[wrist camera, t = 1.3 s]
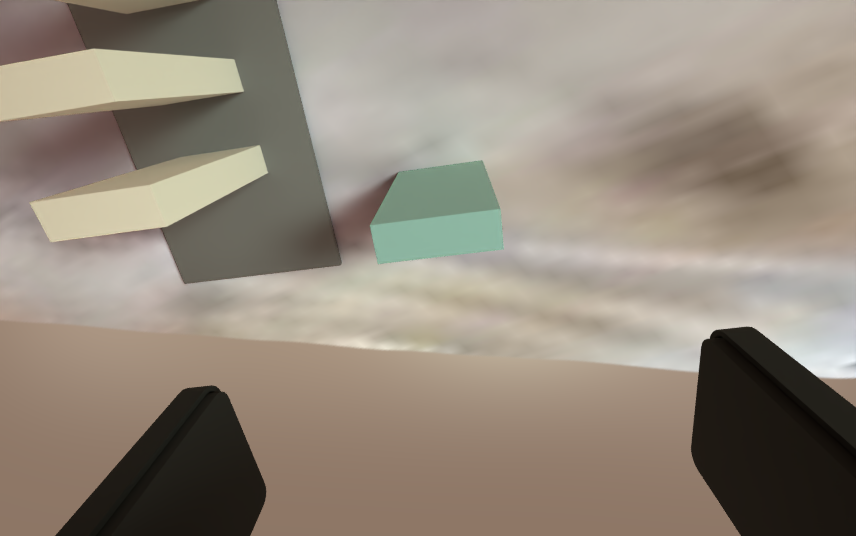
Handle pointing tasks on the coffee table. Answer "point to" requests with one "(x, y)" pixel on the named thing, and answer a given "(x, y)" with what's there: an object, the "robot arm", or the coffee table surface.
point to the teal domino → (438, 214)
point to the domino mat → (228, 137)
